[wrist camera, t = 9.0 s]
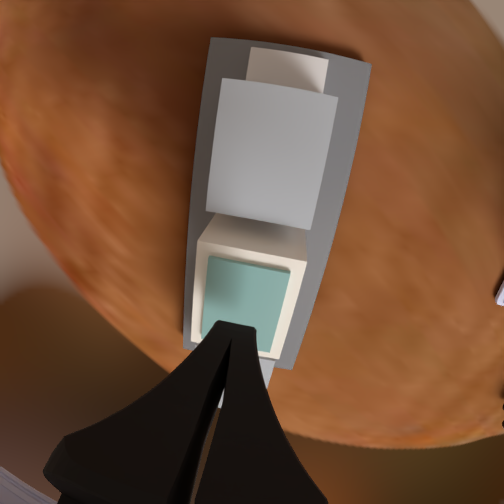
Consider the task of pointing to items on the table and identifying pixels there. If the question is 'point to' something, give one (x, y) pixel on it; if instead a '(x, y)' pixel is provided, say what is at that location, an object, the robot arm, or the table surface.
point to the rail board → (331, 183)
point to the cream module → (248, 278)
